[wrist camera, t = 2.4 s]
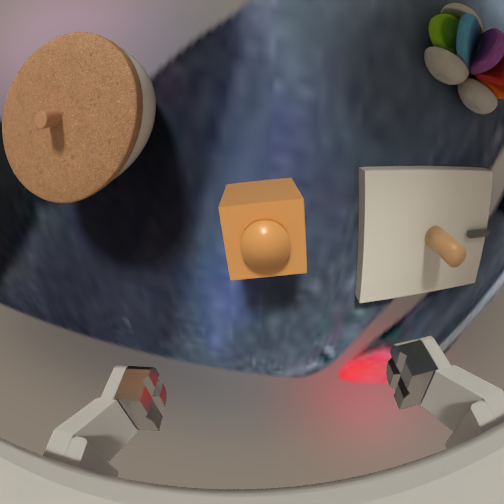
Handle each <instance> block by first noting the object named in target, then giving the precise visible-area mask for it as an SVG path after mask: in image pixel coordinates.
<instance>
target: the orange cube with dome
mask: <svg viewBox="0 0 504 504" xmlns="http://www.w3.org/2000/svg"><path fill="white" fill-rule="evenodd" d="M219 214H220V220H221V226H222V232H223V238H224V245H225V251H226V257H227V262H228V268H229V274H230V280H241V279H251V278H262V277H272V276H282V275H291V274H301V273H307V262H306V237H305V216H304V199H303V197H302V195H301V193H300V192H299V190H298V188H297V186H296V185H295V183H294V181H293V180H292V178H281V179H271V180H261V181H251V182H242V183H234V184H227V185H226V188H225V191H224V194H223V196H222V199H221V202H220V205H219Z"/></svg>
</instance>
